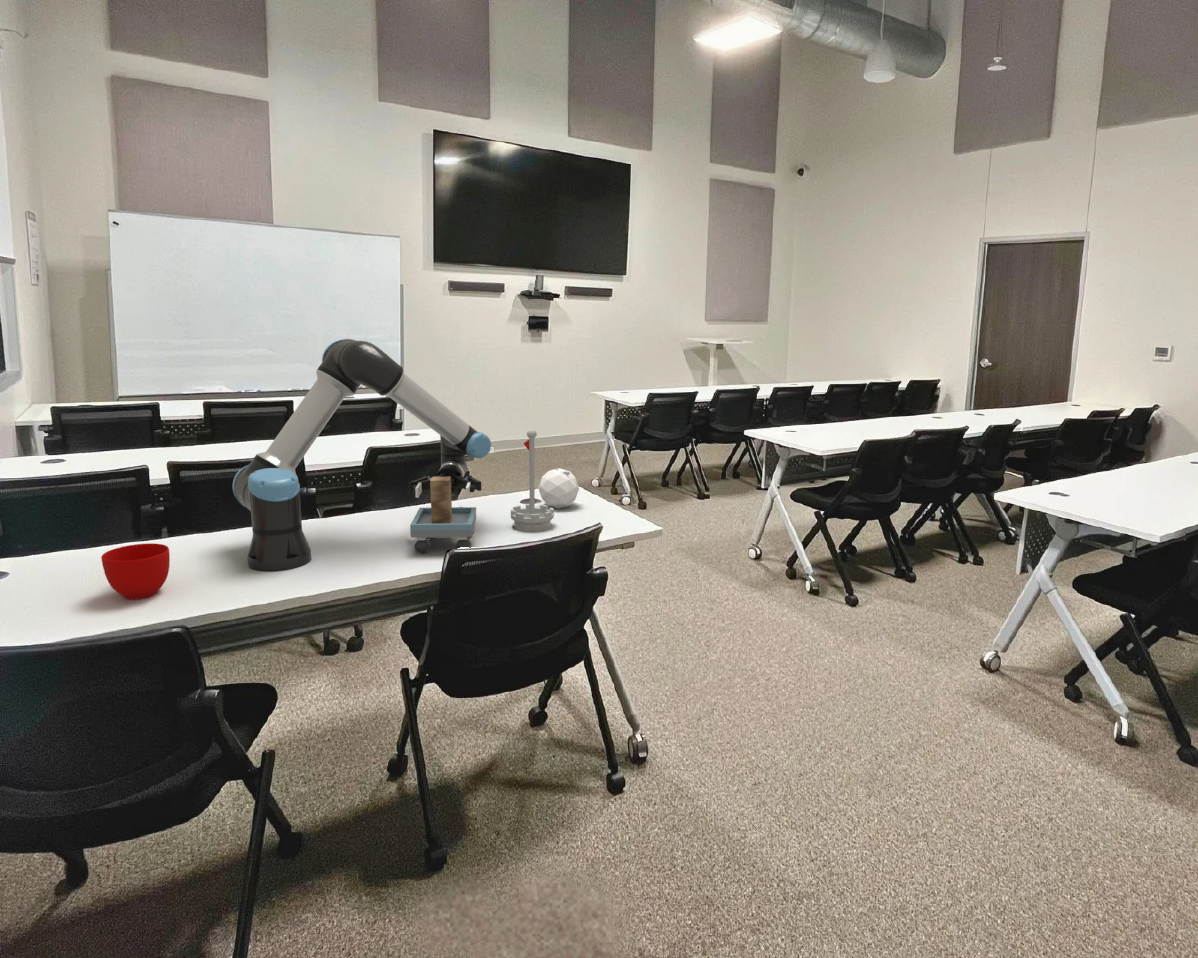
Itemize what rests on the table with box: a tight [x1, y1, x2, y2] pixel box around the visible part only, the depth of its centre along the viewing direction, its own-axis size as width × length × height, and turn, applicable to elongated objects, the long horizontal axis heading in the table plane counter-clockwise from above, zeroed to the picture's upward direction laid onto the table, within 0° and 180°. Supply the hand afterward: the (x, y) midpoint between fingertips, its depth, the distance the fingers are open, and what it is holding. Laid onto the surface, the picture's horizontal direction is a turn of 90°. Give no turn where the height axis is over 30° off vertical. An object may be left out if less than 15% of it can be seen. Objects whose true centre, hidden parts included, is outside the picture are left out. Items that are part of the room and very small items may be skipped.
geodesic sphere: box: [537, 467, 580, 509], centre depth 249 cm, size 14×14×14 cm
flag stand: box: [510, 428, 555, 532], centre depth 224 cm, size 13×13×30 cm
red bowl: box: [100, 543, 171, 600], centre depth 169 cm, size 13×17×10 cm
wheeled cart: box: [409, 506, 477, 554], centre depth 207 cm, size 16×18×8 cm
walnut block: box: [429, 476, 453, 524], centre depth 205 cm, size 5×5×12 cm
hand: (442, 492), depth 204 cm, fingers open, 13 cm apart
